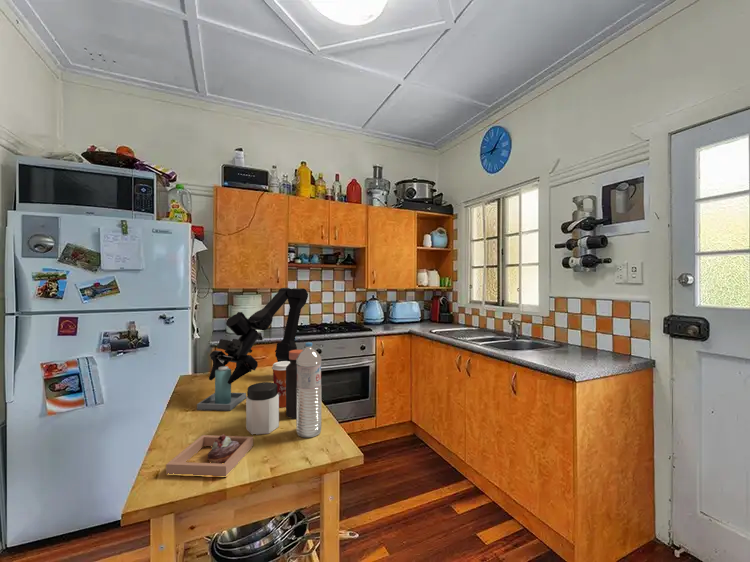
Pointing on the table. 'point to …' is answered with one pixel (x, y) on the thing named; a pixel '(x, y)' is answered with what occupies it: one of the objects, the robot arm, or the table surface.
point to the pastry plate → (215, 469)
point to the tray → (210, 404)
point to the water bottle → (308, 392)
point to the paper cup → (280, 380)
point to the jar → (262, 408)
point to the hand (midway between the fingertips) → (219, 381)
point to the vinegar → (291, 384)
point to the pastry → (222, 449)
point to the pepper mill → (222, 385)
